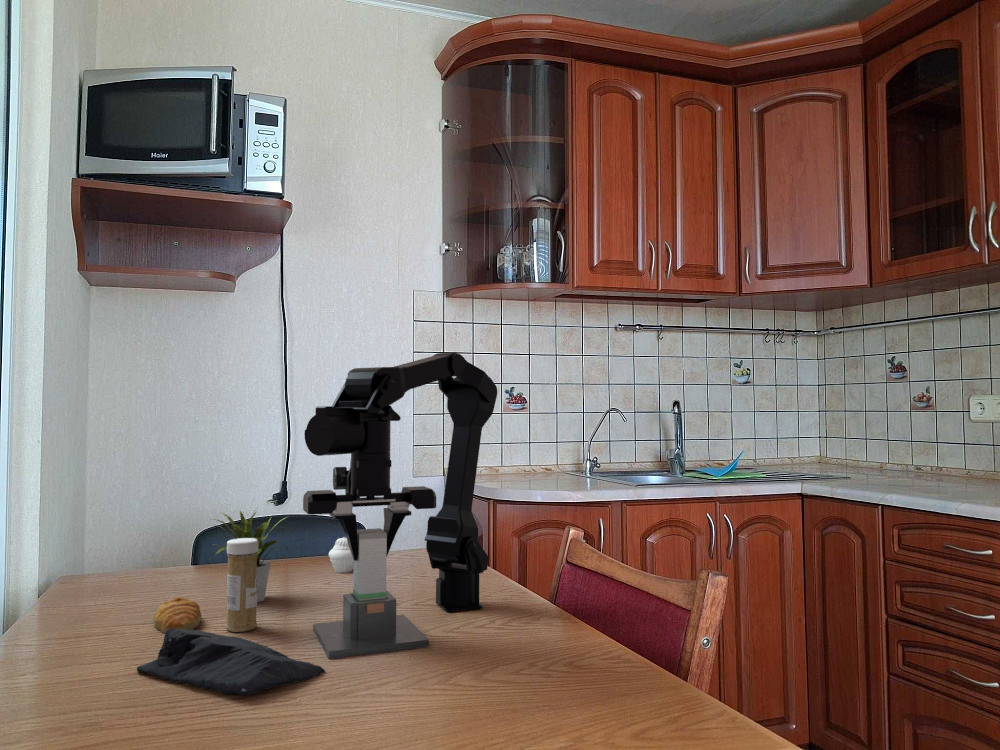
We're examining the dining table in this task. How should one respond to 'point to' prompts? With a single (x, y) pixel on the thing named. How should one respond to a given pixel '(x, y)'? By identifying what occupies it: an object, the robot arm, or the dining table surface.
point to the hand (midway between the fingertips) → (369, 559)
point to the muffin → (341, 556)
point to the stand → (368, 629)
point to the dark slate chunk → (225, 663)
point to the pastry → (177, 615)
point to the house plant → (262, 565)
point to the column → (370, 565)
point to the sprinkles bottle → (242, 584)
